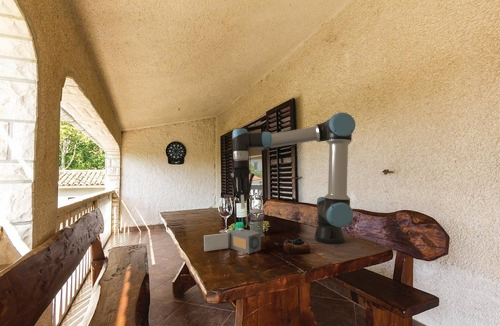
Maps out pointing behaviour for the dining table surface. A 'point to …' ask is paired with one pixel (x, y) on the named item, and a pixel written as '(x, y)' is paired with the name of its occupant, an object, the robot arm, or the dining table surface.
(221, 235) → the side door
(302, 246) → the pastry
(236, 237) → the camera block
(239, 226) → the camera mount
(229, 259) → the dining table surface
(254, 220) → the french press
